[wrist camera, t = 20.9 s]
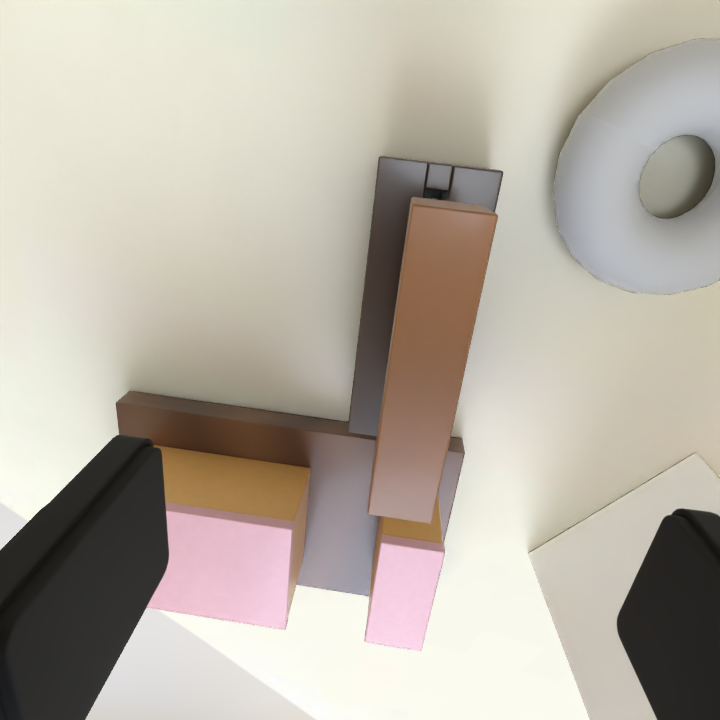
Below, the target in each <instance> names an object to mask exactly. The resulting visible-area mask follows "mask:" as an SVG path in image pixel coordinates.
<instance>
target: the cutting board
mask: <svg viewBox="0 0 720 720" xmlns="http://www.w3.org/2000/svg"><path fill="white" fill-rule="evenodd" d="M116 409H117V419H118V428H119V435H126V436H134V437H141V438H149V439H151V440H152V442H153V445H157V446H164V447H170V448H177V449H184V450H191V451H198V452H204V453H211V454H218V455H225V456H231V457H238V458H245V459H252V460H259V461H265V462H272V463H279V464H286V465H293V466H299V467H306V468H310V481H309V493H308V506H307V518H306V530H305V543H304V555H303V561H302V564H301V568H300V572H299V576H298V580H297V584H296V585H302V586H308V587H315V588H321V589H327V590H334V591H340V592H346V593H353V594H359V595H365V596H369V595H370V584H371V573H372V564H373V558H374V552H375V546H376V539H377V533H378V527H379V521H380V516H376V515H369V514H368V513H367V509H368V501H369V492H370V483H371V475H372V467H373V460H374V453H375V446H376V439H377V436H374V435H367V434H360V433H353V432H348V422H341V421H334V420H327V419H320V418H313V417H306V416H299V415H292V414H285V413H278V412H271V411H264V410H257V409H250V408H243V407H236V406H229V405H222V404H215V403H208V402H201V401H194V400H187V399H180V398H173V397H166V396H159V395H152V394H145V393H138V392H131V391H129V392H128V393H127V394H126V395H124V396H123V397H122V398H121V399H120V400H118V401H117V402H116ZM464 454H465V452H464V447H463V442H462V439H460V438H453V437H450V441H449V446H448V450H447V455H446V460H445V464H444V469H443V473H442V478H441V483H440V487H439V492H438V496H439V507H440V518H441V529H442V540H443V544H444V540H445V535H446V531H447V527H448V523H449V518H450V514H451V510H452V505H453V501H454V497H455V493H456V488H457V484H458V480H459V476H460V471H461V467H462V463H463V458H464Z"/></svg>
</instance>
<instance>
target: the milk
mask: <svg viewBox="0 0 720 720" xmlns="http://www.w3.org/2000/svg"><path fill="white" fill-rule="evenodd" d="M680 508H684V509H691V510H699V511H707V512H712V513H715V514H717V515H719V516H720V478H719V477H718V476H717V475H716V474H715V473H714V472H713V470H712V469H711V468H710V467H709V466H708V465H707V464H706V463H705V462H704V461H703V459H702V458H701V457H700V456H699V455H698V454H697V453H694V454H692V455H691V456H689V457H687V458H686V459H684V460H682V461H681V462H679V463H677V464H676V465H674V466H673V467H671V468H669V469H668V470H666V471H664V472H663V473H661V474H659V475H658V476H656V477H654V478H653V479H651V480H649V481H648V482H646V483H644V484H643V485H641V486H639V487H638V488H636V489H634V490H633V491H631V492H629V493H628V494H626V495H624V496H623V497H621V498H619V499H618V500H616V501H614V502H613V503H611V504H609V505H608V506H606V507H604V508H603V509H601V510H600V511H598V512H596V513H595V514H593V515H591V516H590V517H588V518H586V519H585V520H583V521H581V522H580V523H578V524H576V525H575V526H573V527H571V528H570V529H568V530H566V531H565V532H563V533H561V534H560V535H558V536H556V537H555V538H553V539H551V540H550V541H548V542H546V543H545V544H543V545H541V546H540V547H538V548H536V549H535V550H533V551H532V552H530V553H528V555H529V558H530V560H531V563H532V566H533V568H534V571H535V574H536V576H537V579H538V582H539V584H540V587H541V590H542V592H543V595H544V598H545V600H546V603H547V606H548V608H549V611H550V614H551V616H552V619H553V622H554V624H555V627H556V630H557V632H558V635H559V638H560V641H561V643H562V646H563V649H564V651H565V654H566V657H567V659H568V662H569V665H570V667H571V670H572V673H573V675H574V678H575V681H576V683H577V686H578V689H579V691H580V694H581V697H582V699H583V702H584V705H585V707H586V710H587V713H588V715H589V718H590V720H657V718H656V716H655V714H654V712H653V710H652V708H651V705H650V703H649V701H648V699H647V697H646V695H645V692H644V690H643V688H642V686H641V684H640V682H639V679H638V677H637V675H636V673H635V671H634V668H633V666H632V664H631V662H630V660H629V658H628V655H627V653H626V651H625V649H624V647H623V645H622V642H621V640H620V638H619V635H618V631H617V617H618V614H619V612H620V609H621V607H622V605H623V603H624V601H625V599H626V597H627V594H628V592H629V590H630V588H631V586H632V584H633V582H634V579H635V577H636V575H637V573H638V571H639V569H640V567H641V564H642V562H643V560H644V558H645V556H646V554H647V552H648V549H649V547H650V545H651V543H652V541H653V539H654V537H655V534H656V532H657V530H658V528H659V526H660V524H661V522H662V520H663V518H664V517H665V516H667V515H671V514H672V513H673V511H675V510H676V509H680Z"/></svg>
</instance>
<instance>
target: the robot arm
mask: <svg viewBox="0 0 720 720" xmlns="http://www.w3.org/2000/svg"><path fill="white" fill-rule="evenodd" d="M168 561H169V545H168V531H167V517H166V503H165V489H164V475H163V461H162V452H161V450H160V448H157V447H154V445H153V442H152V440H151V439H149V438H141V437H134V436H126V435H117V436H116V437H114V438H113V439H112V440H111V441H110V442H109V443H108V444H107V445H106V446H105V447H104V448H103V449H102V450H101V451H100V452H99V453H98V454H97V455H96V456H95V457H94V458H93V459H92V460H91V461H90V462H89V463H88V464H87V465H86V466H85V467H84V468H83V469H82V470H81V471H80V472H79V473H78V474H77V475H76V476H75V477H74V478H73V479H72V480H71V481H70V482H69V483H68V485H67V486H66V487H65V488H64V489H63V490H62V491H61V492H60V493H59V494H58V495H57V496H56V497H55V498H54V499H53V500H52V501H51V502H50V503H49V504H47V505H46V506H45V507H44V508H42V509H41V510H40V511H39V512H38V513H37V514H36V515H35V516H34V517H33V518H32V519H31V520H30V521H29V522H28V523H27V524H26V525H25V526H24V527H23V528H22V529H21V530H20V531H19V532H18V533H17V534H16V535H15V536H14V537H13V538H12V539H11V540H10V541H9V542H8V543H7V544H6V545H5V546H4V547H3V548H2V549H1V550H0V720H85V719H86V717H87V715H88V713H89V711H90V710H91V708H92V706H93V704H94V702H95V700H96V698H97V697H98V695H99V693H100V691H101V689H102V688H103V686H104V684H105V682H106V680H107V679H108V677H109V675H110V673H111V671H112V669H113V667H114V666H115V664H116V662H117V660H118V658H119V657H120V654H121V653H122V651H123V649H124V647H125V645H126V643H127V642H128V640H129V638H130V636H131V635H132V633H133V631H134V629H135V627H136V625H137V624H138V622H139V620H140V618H141V616H142V615H143V613H144V611H145V609H146V607H147V605H148V604H149V602H150V600H151V598H152V596H153V594H154V593H155V591H156V589H157V587H158V585H159V583H160V582H161V580H162V578H163V576H164V574H165V572H166V569H167V565H168ZM617 631H618V635H619V638H620V640H621V642H622V645H623V647H624V649H625V651H626V653H627V655H628V658H629V660H630V662H631V664H632V666H633V668H634V671H635V673H636V675H637V677H638V679H639V682H640V684H641V686H642V688H643V690H644V692H645V695H646V697H647V699H648V701H649V703H650V705H651V708H652V710H653V712H654V714H655V716H656V718H657V720H720V516H719V515H717V514H715V513H712V512H707V511H699V510H691V509H684V508H680V509H676V510H675V511H673V513H672V514H671V515H667V516H665V517H664V518H663V520H662V522H661V524H660V526H659V528H658V530H657V532H656V534H655V537H654V539H653V541H652V543H651V545H650V547H649V549H648V552H647V554H646V556H645V558H644V560H643V562H642V564H641V567H640V569H639V571H638V573H637V575H636V577H635V579H634V582H633V584H632V586H631V588H630V590H629V592H628V594H627V597H626V599H625V601H624V603H623V605H622V607H621V609H620V612H619V614H618V617H617Z"/></svg>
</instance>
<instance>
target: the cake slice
mask: <svg viewBox="0 0 720 720" xmlns="http://www.w3.org/2000/svg"><path fill="white" fill-rule="evenodd" d="M444 554H445V548H444V544H443V540H442V529H441V518H440V507H439V496H438V497H437V501H436V506H435V511H434V515H433V520H432V523H430V524H429V523H423V522H416V521H409V520H403V519H396V518H389V517H383V516H380V521H379V527H378V533H377V539H376V546H375V552H374V558H373V564H372V573H371V584H370V595H369V607H368V618H367V625H366V631H365V642H367V643H373V644H379V645H385V646H392V647H398V648H404V649H410V650H416V651H421V650H422V646H423V642H424V638H425V634H426V630H427V625H428V621H429V617H430V613H431V609H432V605H433V600H434V596H435V592H436V588H437V584H438V579H439V575H440V571H441V567H442V563H443V558H444Z"/></svg>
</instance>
